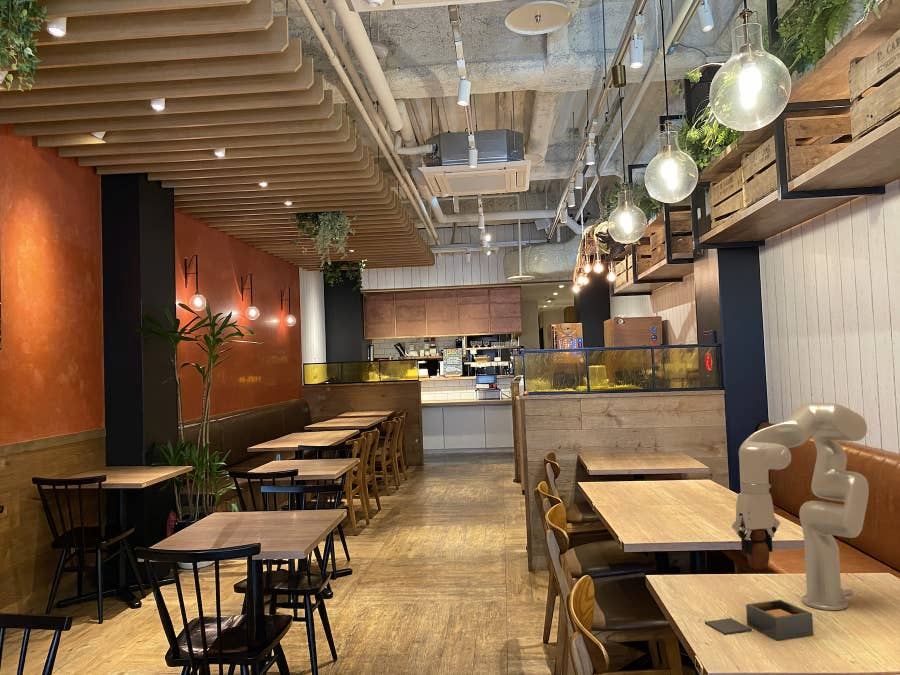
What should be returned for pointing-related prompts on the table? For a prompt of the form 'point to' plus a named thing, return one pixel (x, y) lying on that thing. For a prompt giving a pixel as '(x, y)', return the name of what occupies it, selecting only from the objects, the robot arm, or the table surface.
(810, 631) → the box
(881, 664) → the table surface
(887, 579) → the table surface
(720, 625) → the mat
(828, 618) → the table surface
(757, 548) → the wooden figurine
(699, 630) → the table surface
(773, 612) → the button
